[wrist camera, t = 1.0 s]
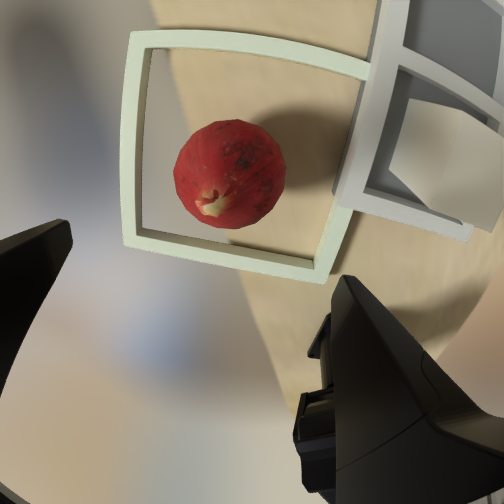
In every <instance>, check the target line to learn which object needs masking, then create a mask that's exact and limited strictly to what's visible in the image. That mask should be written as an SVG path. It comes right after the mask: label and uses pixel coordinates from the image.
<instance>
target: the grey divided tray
mask: <svg viewBox="0 0 504 504" xmlns="http://www.w3.org/2000/svg"><path fill="white" fill-rule="evenodd" d="M366 62H368V63H371V66H370V70H369V75H368V79H367V81H361V85H360V89H359V93H358V98H357V102H356V106H355V110H354V114H353V117H352V121H351V125H350V129H349V133H348V136H347V140H346V144H345V147H344V151H343V155H342V158H341V162H340V165H339V168H338V172H337V175H336V179H335V182H334V185H333V189H332V192H333V195H334V197H335V199H336V201H337V204H338V206H340V207H345V208H349V209H352V210H356V211H360V212H364V213H368V214H372V215H375V216H379V217H383V218H386V219H390V220H394V221H397V222H401V223H404V224H408V225H411V226H414V227H418V228H421V229H424V230H428V231H431V232H434V233H437V234H440V235H443V236H447V237H450V238H453V239H456V240H459V241H462V242H465V243H467V241H468V239H469V237H470V235H471V233H472V231H473V228H474V226H473V225H471V224H468V223H466V222H463V221H461V220H458V219H455V218H453V217H450V216H447V215H445V214H442V213H439V212H436V211H434V210H431V209H429V208H428V207H427V206H426V205H425V204H424V203H423V202H422V201H421V200H420V199H419V198H418V197H417V196H416V195H415V194H414V193H413V192H412V191H411V190H410V189H409V188H408V187H407V186H406V185H405V184H404V183H403V182H402V181H401V180H400V179H399V178H398V177H396V176H395V175H394V174H393V173H392V172H391V171H390V170H389V166H390V163H391V160H392V157H393V154H394V151H395V148H396V144H397V141H398V138H399V134H400V131H401V127H402V124H403V120H404V117H405V113H406V109H407V105H408V101H409V98H411V99H416V100H421V101H425V102H430V103H434V104H438V105H443V106H447V107H450V108H454V109H458V110H461V111H464V112H466V113H467V114H469V115H470V116H472V117H474V118H475V119H477V120H478V121H480V122H481V123H483V124H484V125H486V126H487V127H489V128H490V129H492V130H493V131H495V132H496V133H497V134H499V135H500V136H502V137H503V138H504V0H377V6H376V12H375V18H374V23H373V29H372V34H371V39H370V44H369V49H368V54H367V58H366Z"/></svg>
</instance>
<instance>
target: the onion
mask: <svg viewBox="0 0 504 504" xmlns="http://www.w3.org/2000/svg"><path fill="white" fill-rule="evenodd" d="M285 171H286V166H285V163H284V160H283V157H282V154H281V151H280V148H279V145H278V144H277V143H276V142H275V141H274V140H273V139H272V138H271V137H270V136H269V135H268V134H267V133H266V132H265V131H264V130H263V129H262V128H261V127H258V126H256V125H253V124H250V123H247V122H245V121H242V120H239V119H236V120H225V121H215V122H213V123H211V124H210V125H208V126H206V127H204V128H202V129H200V130H198V131H196V132H195V133H194V134H193V135H192V136H191V137H190V139H189V140H188V141H187V142H186V144H185V145H184V146H183V148H182V149H181V150H180V153H179V155H178V158H177V161H176V165H175V167H174V170H173V173H174V174H173V175H174V181H175V186H176V192H177V195H178V196H179V198H180V200H181V201H182V203H183V205H184V207H185V208H186V210H188V211H189V212H190V213H191V214H192V215H193V216H195V217H196V218H197V219H198V220H199V221H201V222H203V223H205V224H208V225H211V226H213V227H216V228H226V229H239V228H242V227H245V226H248V225H252V224H255V223H257V222H258V221H259V220H260V219H261V218H263V217H264V216H265V215H266V214H267V213H269V212H270V211H271V210H272V209H273V207H274V206H275V204H276V202H277V201H278V199H279V197H280V196H281V194H282V192H283V189H284V181H285Z"/></svg>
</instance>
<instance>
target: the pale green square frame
mask: <svg viewBox="0 0 504 504" xmlns="http://www.w3.org/2000/svg"><path fill="white" fill-rule="evenodd" d="M153 49H192V50H209V51H222V52H232V53H240V54H248V55H255V56H261V57H267V58H273V59H279V60H284V61H289V62H294V63H298V64H303V65H307V66H311V67H315V68H319V69H323V70H326V71H330V72H334V73H337V74H340V75H344V76H347V77H350V78H353V79H356V80H359V81H367V79H368V75H369V70H370V66H371V63H368V62H365V61H363V60H360V59H357V58H354V57H351V56H347V55H344V54H341V53H338V52H334V51H331V50H327V49H323V48H319V47H316V46H311V45H307V44H303V43H298V42H294V41H289V40H284V39H278V38H273V37H267V36H260V35H253V34H245V33H236V32H225V31H211V30H149V31H135V32H131V35H130V40H129V47H128V53H127V61H126V68H125V77H124V86H123V97H122V112H121V131H120V196H121V216H122V229H123V242H124V246H128V247H132V248H137V249H142V250H146V251H152V252H156V253H161V254H166V255H171V256H175V257H180V258H185V259H191V260H195V261H200V262H205V263H210V264H215V265H220V266H225V267H230V268H236V269H241V270H246V271H251V272H257V273H262V274H267V275H273V276H278V277H283V278H289V279H294V280H300V281H305V282H311V283H317V284H322V285H325V283H326V280H327V278H328V275H329V273H330V270H331V268H332V266H333V263H334V261H335V258H336V256H337V253H338V250H339V248H340V245H341V243H342V240H343V237H344V235H345V232H346V229H347V227H348V224H349V221H350V219H351V216H352V213H353V210H352V209H349V208H345V207H340V206H338V204H337V201H336V199H335V197H334V200H333V203H332V206H331V209H330V212H329V215H328V218H327V221H326V224H325V227H324V230H323V233H322V236H321V239H320V242H319V245H318V248H317V251H316V254H315V256H314V259H313V260H307V259H302V258H297V257H292V256H287V255H282V254H276V253H271V252H266V251H261V250H256V249H250V248H245V247H240V246H235V245H230V244H224V243H219V242H214V241H209V240H203V239H198V238H193V237H187V236H182V235H177V234H172V233H166V232H161V231H156V230H151V229H145V228H142V151H143V133H144V132H143V131H144V118H145V106H146V96H147V87H148V78H149V70H150V63H151V56H152V50H153Z"/></svg>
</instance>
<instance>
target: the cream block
mask: <svg viewBox="0 0 504 504" xmlns="http://www.w3.org/2000/svg"><path fill="white" fill-rule="evenodd" d="M389 170H390V171H391V172H392V173H393V174H394V175H395V176H396V177H398V178H399V179H400V180H401V181H402V182H403V183H404V184H405V185H406V186H407V187H408V188H409V189H410V190H411V191H412V192H413V193H414V194H415V195H416V196H417V197H418V198H419V199H420V200H421V201H422V202H423V203H424V204H425V205H426V206H427V207H428V208H429V209H431V210H434V211H436V212H439V213H442V214H445V215H447V216H450V217H453V218H455V219H458V220H461V221H463V222H466V223H468V224H471V225H473V226H476V227H478V228H480V229H483V230H485V231H488V232H490V233H492V231H493V228H494V226H495V224H496V222H497V220H498V218H499V216H500V213H501V211H502V209H503V206H504V138H503V137H502V136H500V135H499V134H497V133H496V132H495V131H493V130H492V129H490V128H489V127H487V126H486V125H484V124H483V123H481V122H480V121H478V120H477V119H475V118H474V117H472V116H470V115H469V114H467V113H466V112H464V111H461V110H458V109H454V108H450V107H447V106H443V105H438V104H434V103H430V102H425V101H421V100H416V99H411V98H409V101H408V105H407V109H406V113H405V117H404V120H403V124H402V127H401V131H400V134H399V138H398V141H397V144H396V148H395V151H394V154H393V157H392V160H391V163H390V166H389Z"/></svg>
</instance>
